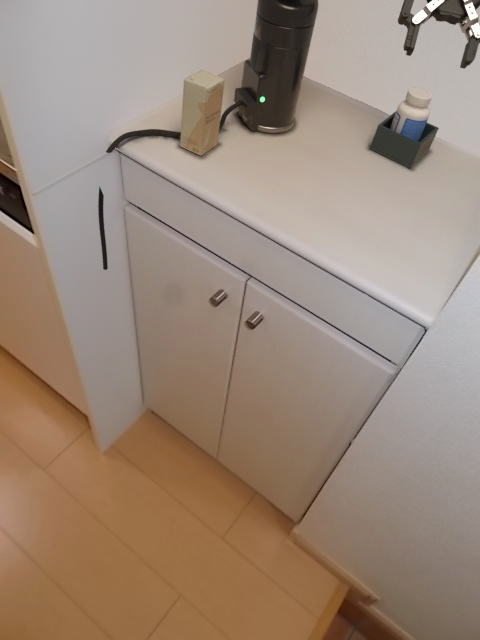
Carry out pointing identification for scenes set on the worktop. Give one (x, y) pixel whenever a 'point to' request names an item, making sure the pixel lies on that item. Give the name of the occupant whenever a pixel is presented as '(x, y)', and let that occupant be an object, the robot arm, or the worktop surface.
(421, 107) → the pill bottle
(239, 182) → the worktop surface
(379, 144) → the bin
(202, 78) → the box
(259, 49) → the robot arm
